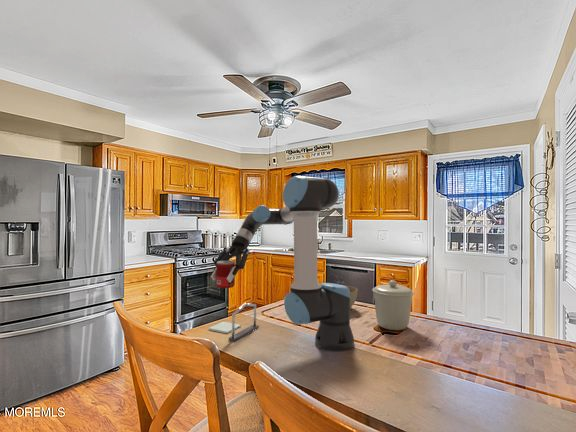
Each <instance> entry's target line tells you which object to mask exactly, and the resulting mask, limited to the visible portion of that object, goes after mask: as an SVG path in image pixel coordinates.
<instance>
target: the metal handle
mask: <svg viewBox="0 0 576 432" xmlns="http://www.w3.org/2000/svg"><path fill="white" fill-rule="evenodd" d="M245 307H252V308H253V324H252V325H249V326H248V327H245V328H243V329H242V330H241V331H238V332H237V333H235V324H236V323H235V319H236V318H235V317H236V315H238V313H239V312H241V311H242V310H243V309H244V308H245ZM231 323H232V332H231V336H229V337H228V341H229V340H230V341H229V342H233V341H234V343H235V342H237V341H239V340H241V339H242V338H245V337H246V336H248V335H249V334H251V333H253V332H254V331H256V330H258V329H259V328H260V325H258V324H257V304H256V303H249V302H248V303H246V302H244V303H243V304H242V305H240V306H239V307H238V308H237V309H236V310H234V311H233V312H232V313H231ZM258 327H259V328H258ZM257 328H258V329H257ZM255 329H256V330H255ZM253 330H254V331H253ZM252 331H253V332H252ZM250 332H251V333H250ZM248 333H249V334H248ZM247 334H248V335H247ZM245 335H246V336H245ZM240 338H241V339H240Z"/></svg>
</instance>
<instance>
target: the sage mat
mask: <svg viewBox="0 0 576 432" xmlns="http://www.w3.org/2000/svg"><path fill="white" fill-rule="evenodd" d="M240 326H241V327H242V324H238V323H235V329H236V330H237V329H239V328H241V327H240ZM238 327H239V328H238ZM208 330H209V331H213V332H217V333H223V334H226V333H228V334H230V333H232V332H231V331H232V322H228V321H222V322H219V323H217V324H215V325H212V326H210V327H209V328H208ZM229 332H230V333H229Z"/></svg>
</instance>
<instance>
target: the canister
mask: <svg viewBox="0 0 576 432" xmlns="http://www.w3.org/2000/svg"><path fill="white" fill-rule="evenodd" d="M371 290H372V292H373V298H374V300H373V301H374V308H375V310H374V311H375V316H376V322H377V324H378V326H379V327H381V328H383V329H385V330H391V331H403V330H406V329H407V328H408V326H409V324H410V317H411V310H412V302H413V295H414V294H415V291H414V290H413V289H411V288H410V287H407V286H403V285H398V282H397V281H396V280H394V279H391V280H389V281H388V284H379V285H377V286H375V287H373V288H372V289H371Z"/></svg>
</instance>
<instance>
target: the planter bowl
mask: <svg viewBox="0 0 576 432" xmlns="http://www.w3.org/2000/svg"><path fill="white" fill-rule="evenodd" d="M345 286H346V287H348V288H349V291H350V311H351V310H352V307H353V306H354V304H355V302H356V300H357V297H358V288H357V287H354V286H352V285H351V286H349V285H345Z"/></svg>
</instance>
